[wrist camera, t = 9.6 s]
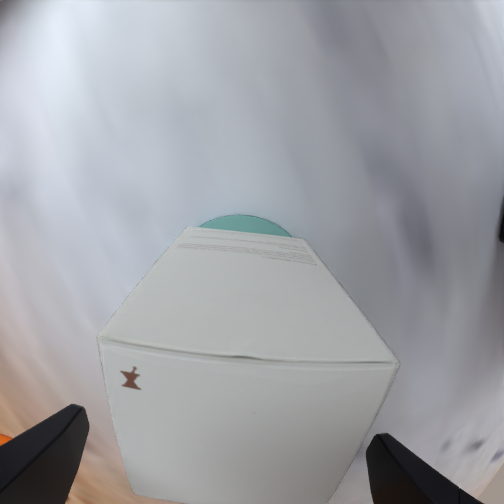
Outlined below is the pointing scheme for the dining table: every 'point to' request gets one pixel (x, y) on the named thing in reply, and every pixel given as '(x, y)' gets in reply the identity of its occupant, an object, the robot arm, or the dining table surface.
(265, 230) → the teal round disc
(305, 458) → the supplement box
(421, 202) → the dining table surface
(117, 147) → the dining table surface
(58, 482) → the robot arm
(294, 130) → the dining table surface
